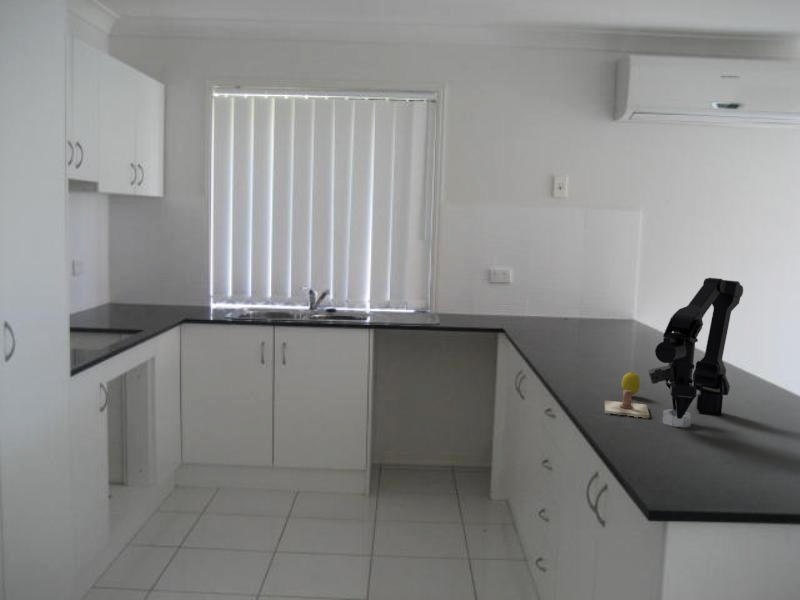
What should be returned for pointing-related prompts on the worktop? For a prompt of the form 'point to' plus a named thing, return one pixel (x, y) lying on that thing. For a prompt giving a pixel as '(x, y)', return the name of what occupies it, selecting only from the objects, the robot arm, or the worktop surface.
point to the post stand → (627, 407)
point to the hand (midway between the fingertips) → (677, 414)
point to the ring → (672, 419)
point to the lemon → (631, 382)
